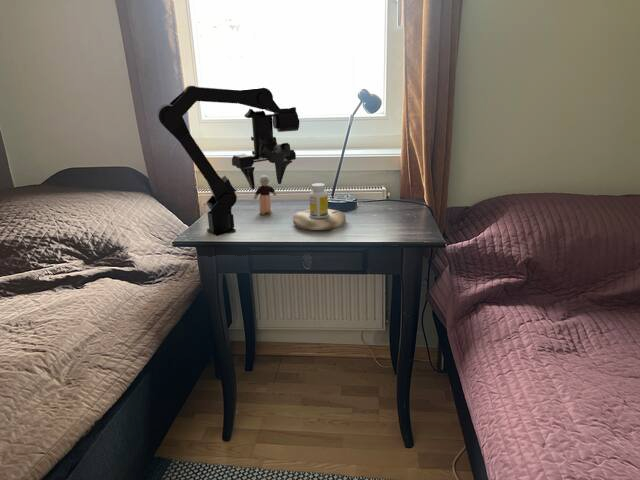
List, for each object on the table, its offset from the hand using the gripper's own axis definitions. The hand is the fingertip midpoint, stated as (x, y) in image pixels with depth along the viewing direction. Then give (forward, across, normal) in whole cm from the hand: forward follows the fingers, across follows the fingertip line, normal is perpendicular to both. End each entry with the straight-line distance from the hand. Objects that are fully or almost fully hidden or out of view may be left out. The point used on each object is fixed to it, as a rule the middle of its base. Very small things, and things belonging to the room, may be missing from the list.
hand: (266, 186), depth 137 cm
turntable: (+12, +12, -10) cm, 20 cm away
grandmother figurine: (+12, +6, +11) cm, 17 cm away
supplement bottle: (+10, +12, -10) cm, 18 cm away
